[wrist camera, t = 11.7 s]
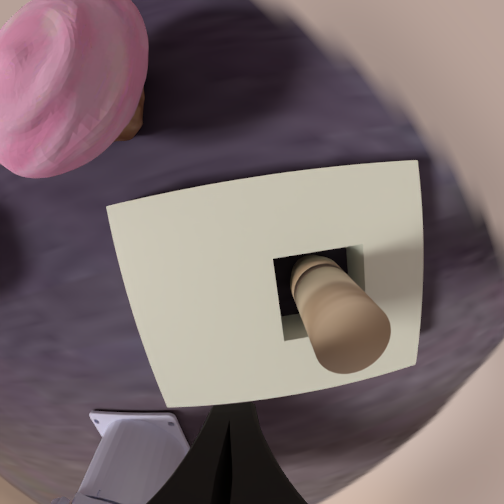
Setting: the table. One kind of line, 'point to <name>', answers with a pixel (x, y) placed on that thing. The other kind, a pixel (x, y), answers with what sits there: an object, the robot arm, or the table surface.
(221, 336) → the board
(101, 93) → the cupcake
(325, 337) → the peg
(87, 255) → the table surface
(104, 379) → the table surface
